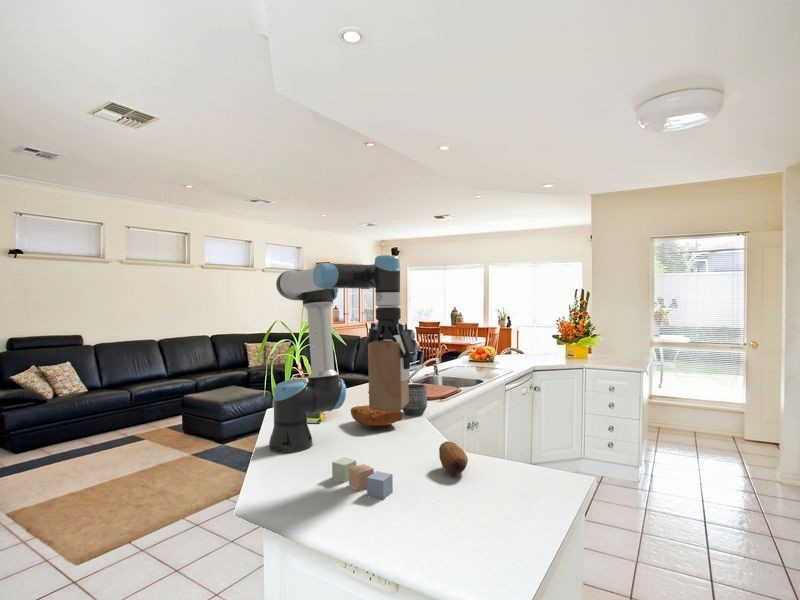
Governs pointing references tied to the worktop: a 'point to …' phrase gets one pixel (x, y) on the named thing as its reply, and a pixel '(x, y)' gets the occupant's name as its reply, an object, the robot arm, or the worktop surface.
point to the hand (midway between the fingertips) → (389, 377)
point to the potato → (452, 458)
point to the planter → (416, 400)
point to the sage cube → (342, 469)
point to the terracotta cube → (359, 476)
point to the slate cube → (379, 485)
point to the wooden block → (386, 377)
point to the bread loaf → (375, 416)
